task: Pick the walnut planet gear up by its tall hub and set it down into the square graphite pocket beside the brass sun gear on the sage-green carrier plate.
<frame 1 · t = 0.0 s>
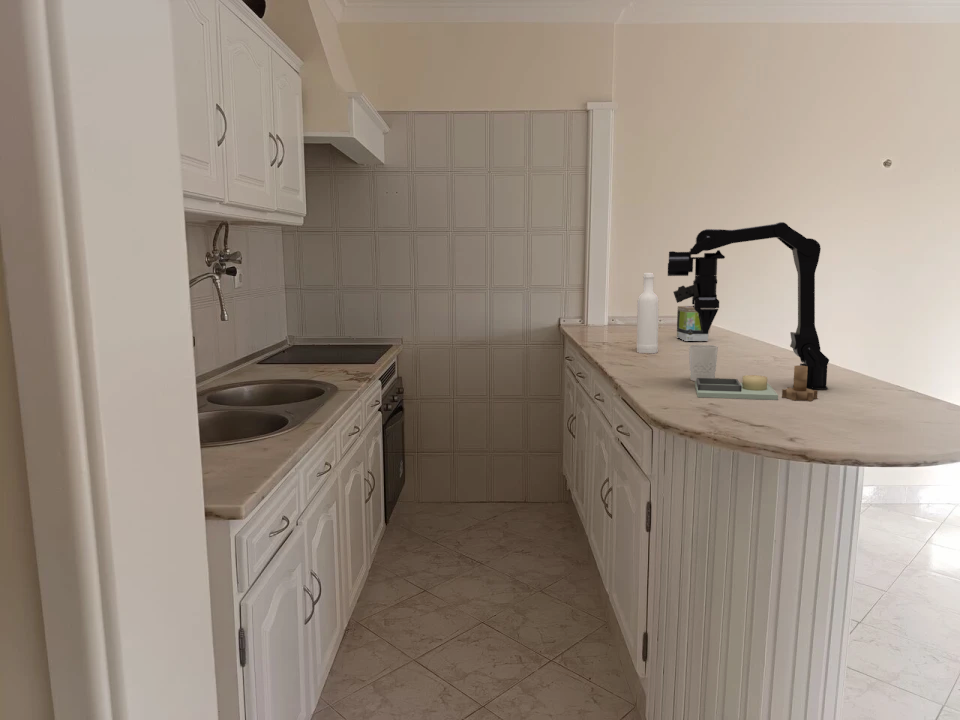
hand: (704, 332, 191), 15 cm above the worktop, fingers open, 9 cm apart
tea box: (692, 340, 298), on the worktop
carrier plate: (734, 392, 181), on the worktop
planet gear: (799, 398, 172), on the worktop
white cup: (702, 380, 200), on the worktop
bottle: (647, 352, 261), on the worktop
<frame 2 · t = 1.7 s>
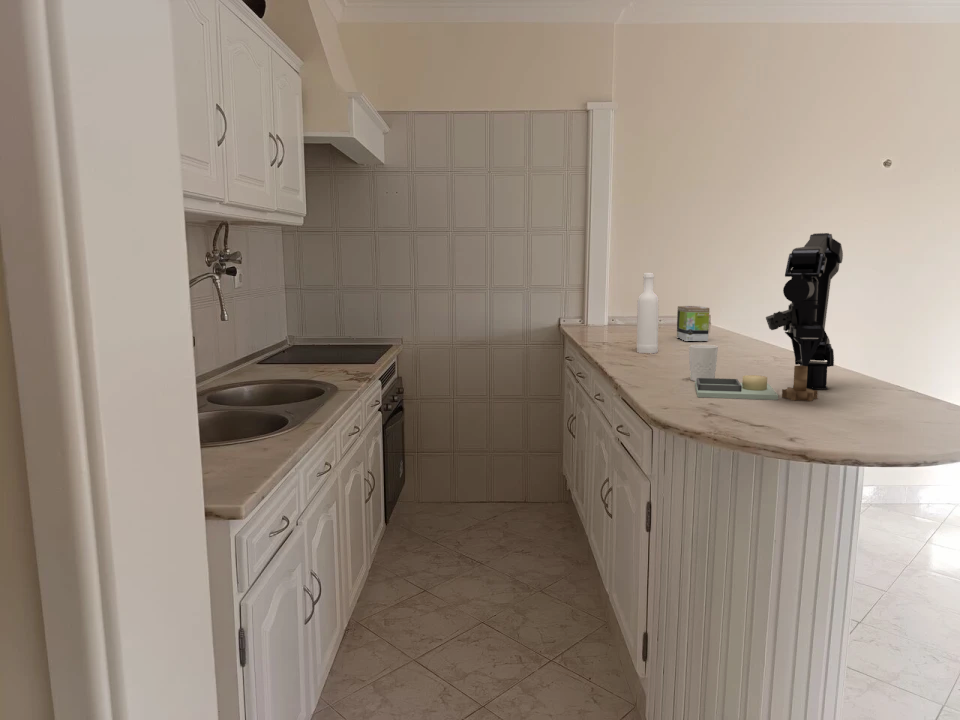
hand: (801, 362, 171), 9 cm above the worktop, fingers open, 9 cm apart
nothing on the worktop moved.
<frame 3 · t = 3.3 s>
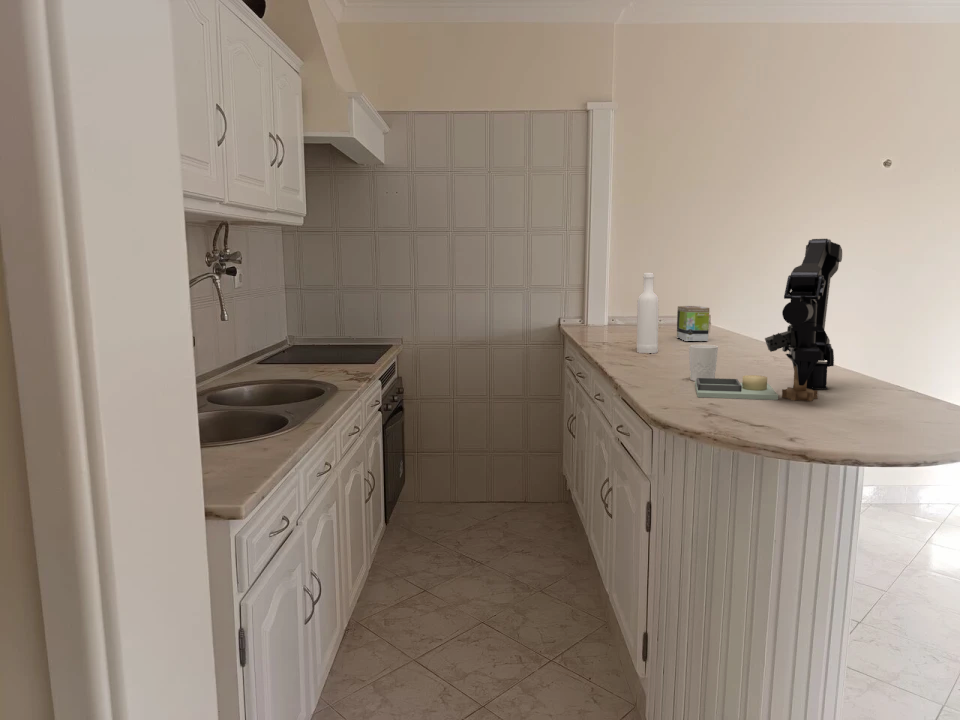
hand: (800, 384, 172), 4 cm above the worktop, fingers closed on planet gear, 3 cm apart
planet gear: (799, 398, 172), on the worktop, touching gripper
everything else where it was.
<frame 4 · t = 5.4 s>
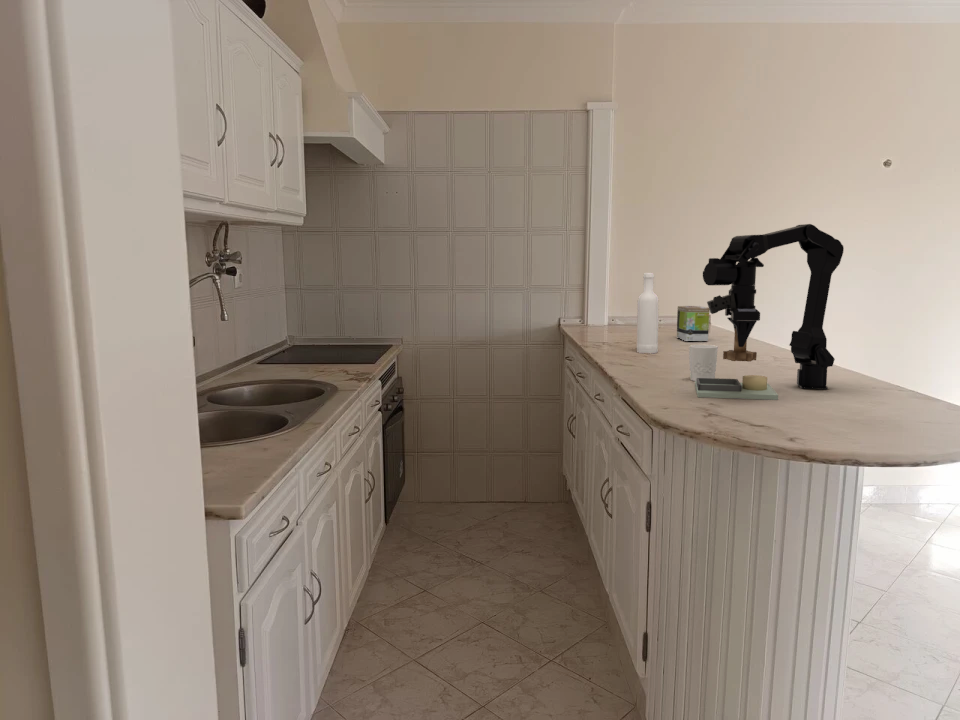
hand: (740, 346, 177), 12 cm above the worktop, fingers closed on planet gear, 3 cm apart
planet gear: (739, 359, 178), point 9 cm above the worktop, touching gripper
everything else where it was.
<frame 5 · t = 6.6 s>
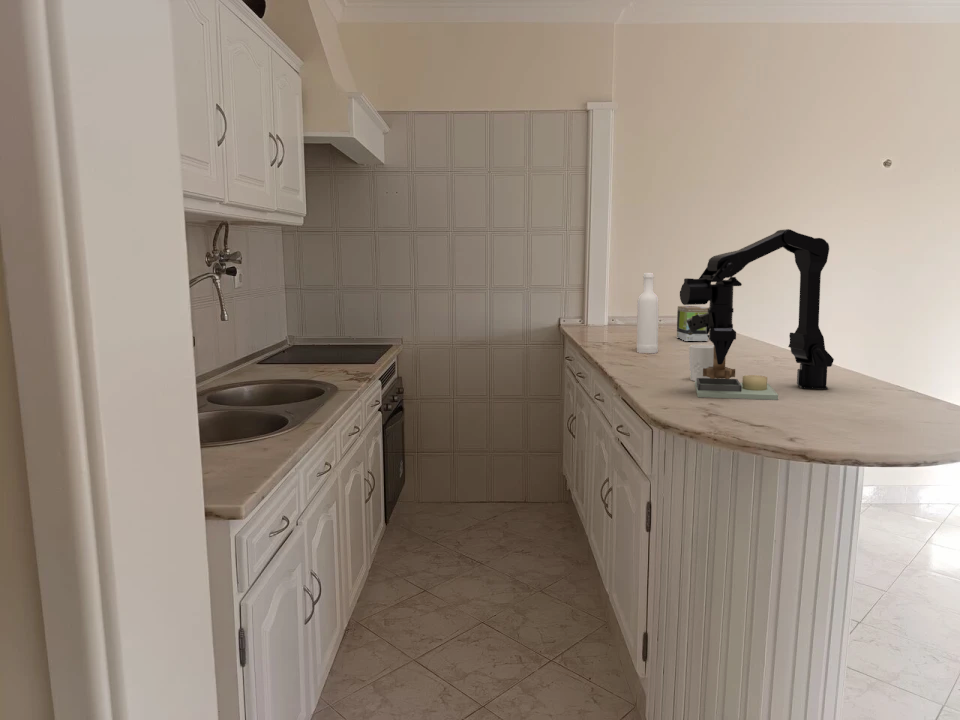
hand: (719, 363, 181), 8 cm above the worktop, fingers closed on planet gear, 3 cm apart
planet gear: (718, 376, 181), point 4 cm above the worktop, touching gripper
everything else where it was.
when the fingers open (7 cm above the worktop, at t = 7.4 s): planet gear drops 2 cm, resting on carrier plate.
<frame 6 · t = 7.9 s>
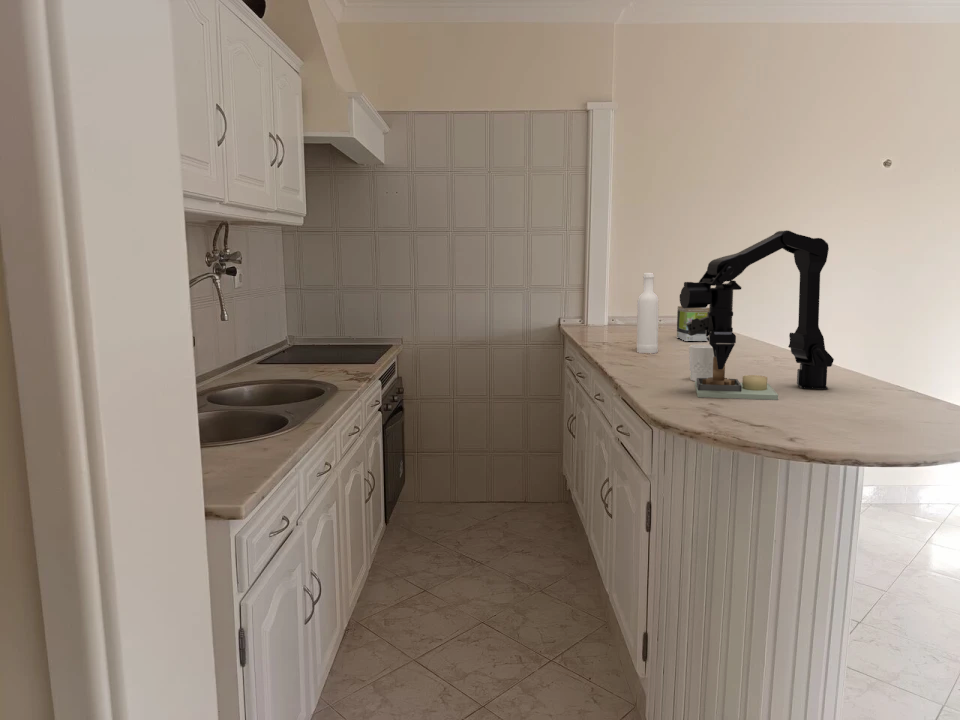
hand: (718, 366, 181), 7 cm above the worktop, fingers open, 9 cm apart
planet gear: (718, 387, 182), point 1 cm above the worktop, touching carrier plate
everything else where it was.
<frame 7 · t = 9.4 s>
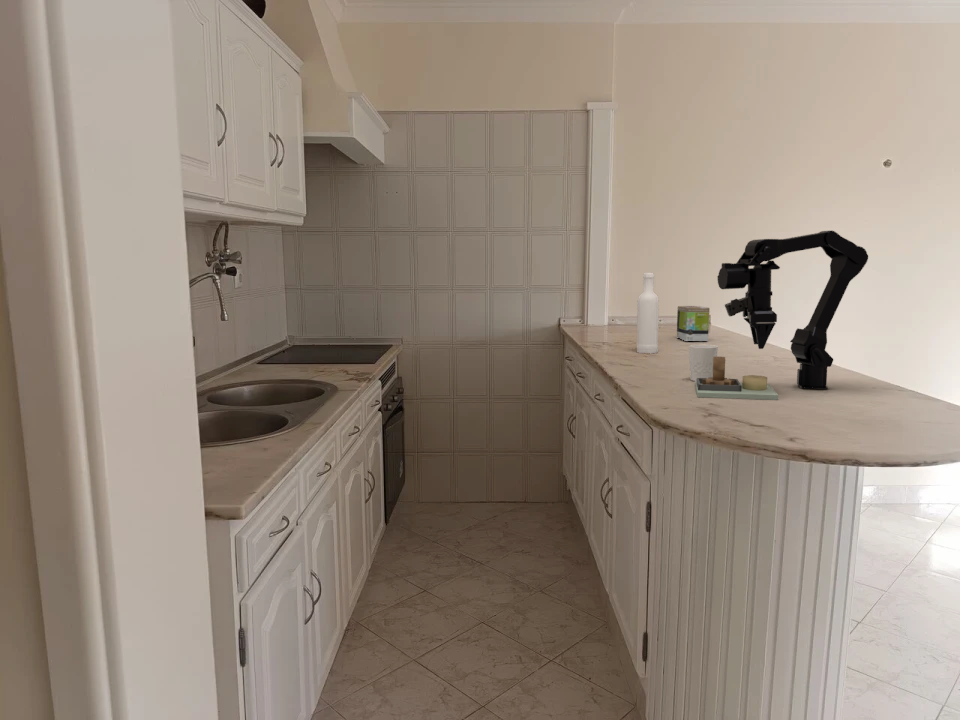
hand: (758, 346, 183), 12 cm above the worktop, fingers open, 9 cm apart
nothing on the worktop moved.
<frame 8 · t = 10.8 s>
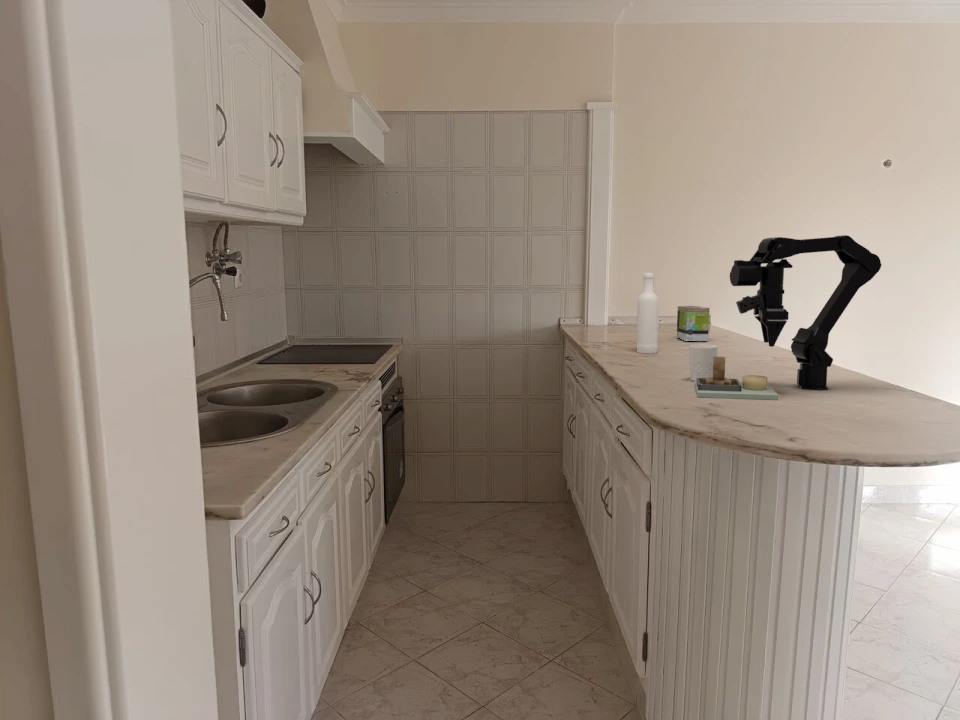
hand: (768, 344, 183), 12 cm above the worktop, fingers open, 9 cm apart
nothing on the worktop moved.
at the end: planet gear 0.0 cm from the target spot on the carrier plate, point 1.2 cm above the carrier plate's base; planet gear tilted 0°; the gripper is holding nothing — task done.
